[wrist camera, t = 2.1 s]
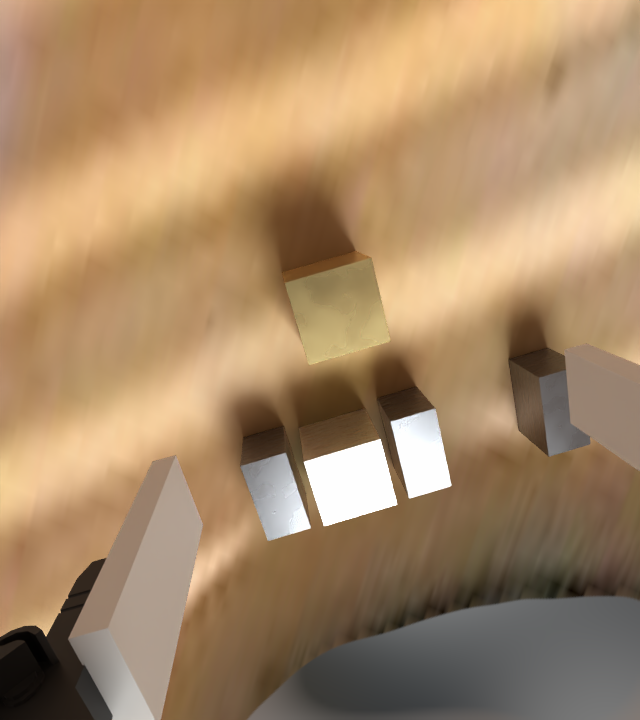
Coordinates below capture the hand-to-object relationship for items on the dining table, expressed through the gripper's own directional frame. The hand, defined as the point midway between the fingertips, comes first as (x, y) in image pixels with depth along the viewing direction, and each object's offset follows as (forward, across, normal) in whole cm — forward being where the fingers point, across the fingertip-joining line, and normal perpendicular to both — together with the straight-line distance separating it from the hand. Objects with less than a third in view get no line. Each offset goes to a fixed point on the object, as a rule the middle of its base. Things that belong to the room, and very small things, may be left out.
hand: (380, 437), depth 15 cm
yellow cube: (+17, +1, +2) cm, 17 cm away
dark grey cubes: (+17, +4, -9) cm, 20 cm away
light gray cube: (+17, -1, -10) cm, 20 cm away
